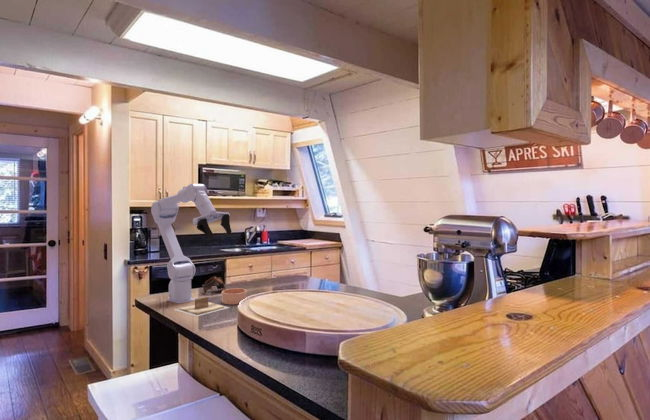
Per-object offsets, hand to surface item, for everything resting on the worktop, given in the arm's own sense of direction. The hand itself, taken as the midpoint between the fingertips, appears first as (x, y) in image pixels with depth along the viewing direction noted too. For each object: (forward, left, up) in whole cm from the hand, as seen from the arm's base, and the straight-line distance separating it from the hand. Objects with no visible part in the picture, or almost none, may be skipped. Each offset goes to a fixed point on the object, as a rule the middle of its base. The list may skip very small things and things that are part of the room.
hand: (221, 235), depth 157 cm
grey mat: (-10, -2, -29) cm, 31 cm away
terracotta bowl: (-9, +13, -29) cm, 33 cm away
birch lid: (-10, -2, -29) cm, 30 cm away
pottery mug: (-29, +19, -29) cm, 45 cm away
